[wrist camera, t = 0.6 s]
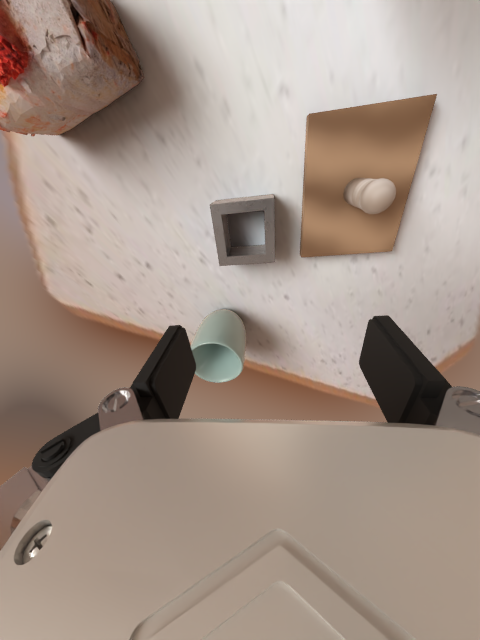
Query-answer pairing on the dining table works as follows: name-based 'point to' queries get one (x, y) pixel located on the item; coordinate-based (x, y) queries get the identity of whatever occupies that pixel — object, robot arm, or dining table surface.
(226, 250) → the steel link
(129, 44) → the food item
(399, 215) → the brown flat pegged piece
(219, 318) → the cup
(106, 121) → the dining table surface
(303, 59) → the dining table surface
